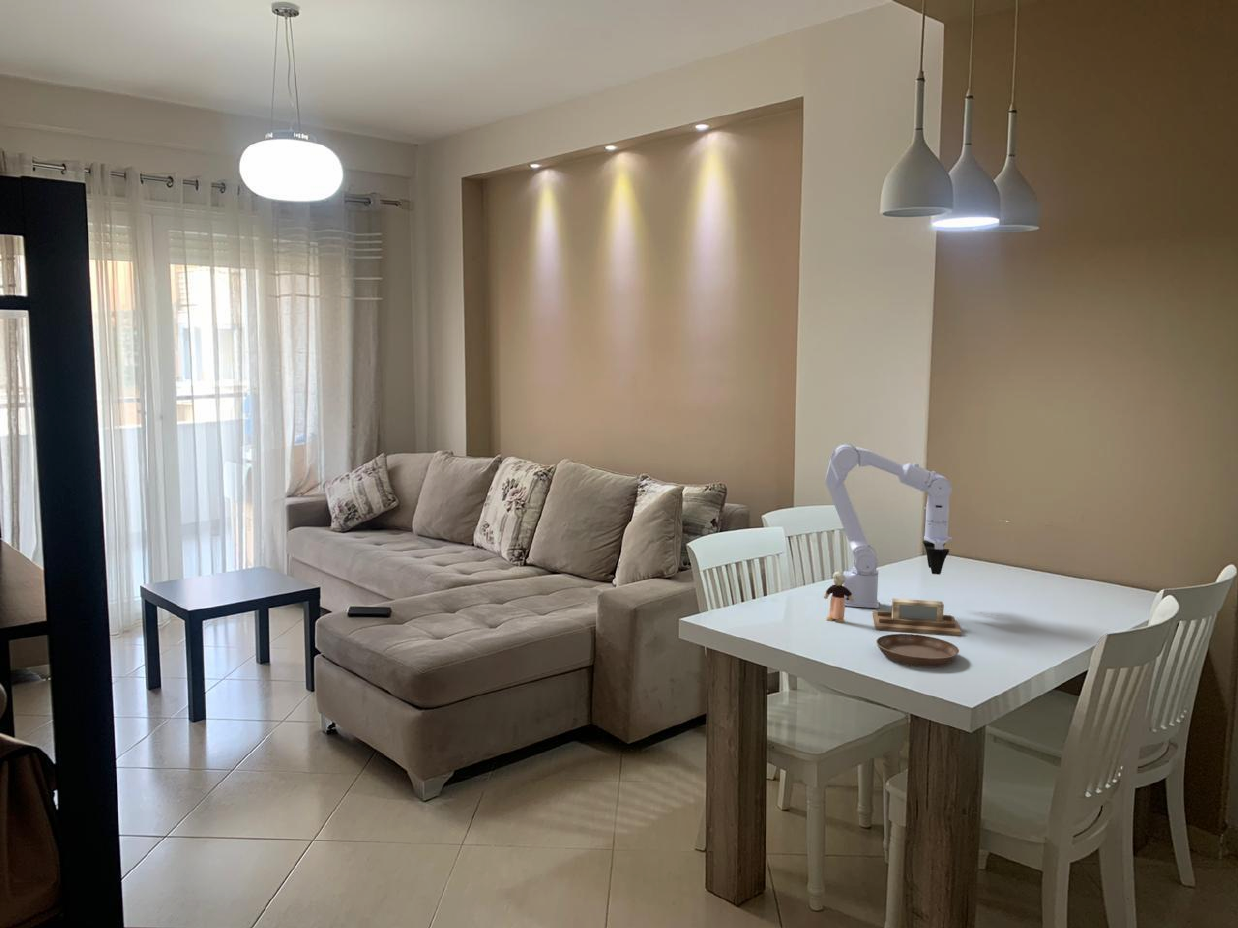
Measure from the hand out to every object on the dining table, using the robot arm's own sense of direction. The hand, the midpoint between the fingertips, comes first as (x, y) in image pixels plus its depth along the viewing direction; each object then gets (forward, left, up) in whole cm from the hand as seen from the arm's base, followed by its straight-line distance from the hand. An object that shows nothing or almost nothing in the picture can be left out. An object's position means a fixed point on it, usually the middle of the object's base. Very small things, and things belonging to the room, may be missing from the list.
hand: (934, 570), depth 243 cm
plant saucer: (-8, -43, -11) cm, 45 cm away
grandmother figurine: (-25, -18, -11) cm, 33 cm away
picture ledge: (-6, -17, -10) cm, 21 cm away
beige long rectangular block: (-6, -17, -9) cm, 20 cm away
